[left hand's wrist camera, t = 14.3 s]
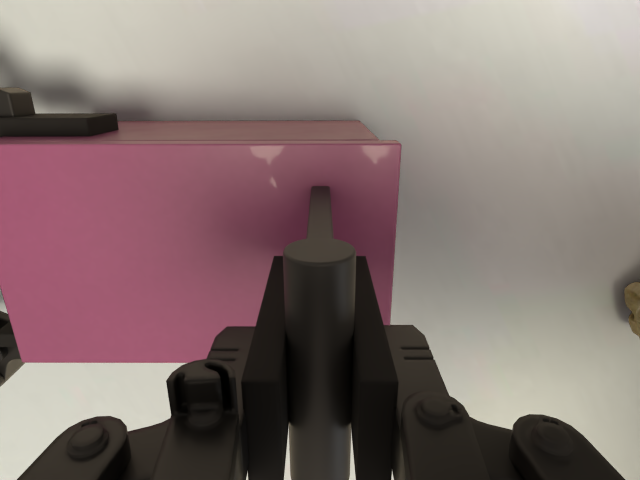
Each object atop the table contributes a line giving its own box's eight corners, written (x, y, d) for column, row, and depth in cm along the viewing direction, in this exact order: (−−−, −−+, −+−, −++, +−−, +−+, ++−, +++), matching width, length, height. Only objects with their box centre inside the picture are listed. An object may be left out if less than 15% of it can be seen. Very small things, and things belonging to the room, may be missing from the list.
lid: (397, 140, 16) (471, 197, 8) (384, 350, 20) (428, 538, 12) (-23, 140, 16) (-356, 198, 8) (35, 350, 20) (-164, 536, 12)
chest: (359, 120, 25) (380, 139, 17) (355, 270, 28) (370, 348, 20) (90, 121, 25) (-22, 140, 16) (118, 271, 28) (35, 349, 20)
